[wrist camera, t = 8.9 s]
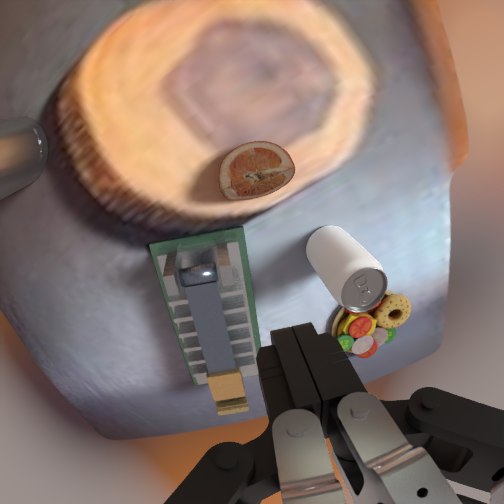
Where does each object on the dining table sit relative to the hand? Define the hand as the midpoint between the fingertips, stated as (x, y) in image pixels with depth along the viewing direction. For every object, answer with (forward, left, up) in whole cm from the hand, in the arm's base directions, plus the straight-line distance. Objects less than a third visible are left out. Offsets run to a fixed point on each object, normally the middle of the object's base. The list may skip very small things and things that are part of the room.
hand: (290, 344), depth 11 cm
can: (+12, -11, -29) cm, 33 cm away
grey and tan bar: (-5, -18, -23) cm, 29 cm away
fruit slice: (+3, +1, -29) cm, 29 cm away
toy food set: (+19, -26, -30) cm, 44 cm away
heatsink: (-5, -19, -29) cm, 35 cm away
